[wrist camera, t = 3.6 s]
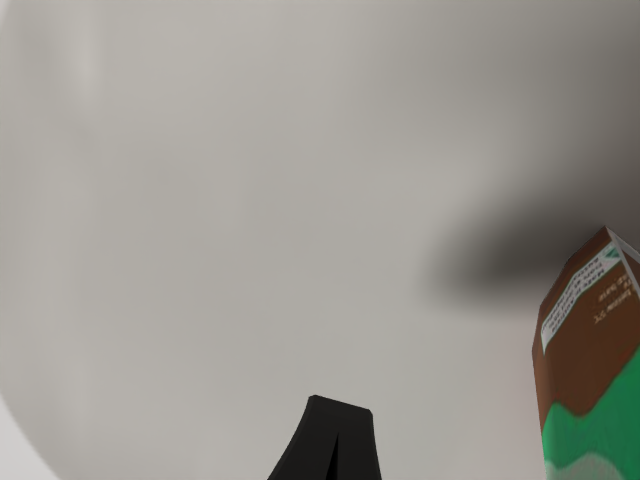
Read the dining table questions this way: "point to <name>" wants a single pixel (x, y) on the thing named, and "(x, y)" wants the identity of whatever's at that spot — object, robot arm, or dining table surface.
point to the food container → (591, 364)
